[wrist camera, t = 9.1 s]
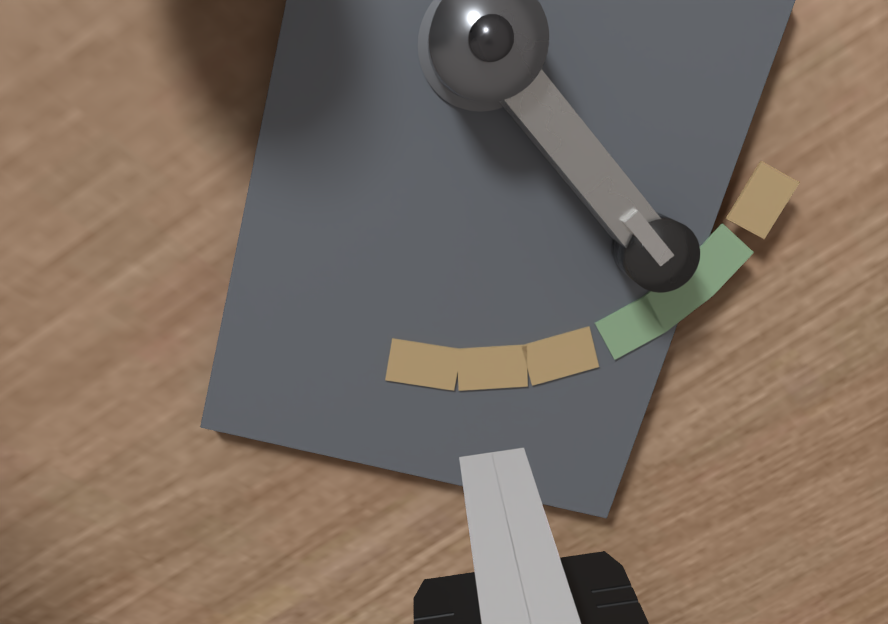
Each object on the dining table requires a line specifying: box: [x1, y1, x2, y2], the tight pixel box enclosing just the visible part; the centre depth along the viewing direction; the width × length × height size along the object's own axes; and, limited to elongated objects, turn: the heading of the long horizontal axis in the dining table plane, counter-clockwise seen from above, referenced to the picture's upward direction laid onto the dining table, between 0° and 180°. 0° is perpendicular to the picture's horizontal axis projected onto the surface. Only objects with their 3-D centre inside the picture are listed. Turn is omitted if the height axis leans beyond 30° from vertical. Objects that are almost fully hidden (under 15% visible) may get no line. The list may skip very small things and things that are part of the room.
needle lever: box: [428, 0, 700, 293], centre depth 30 cm, size 15×4×4 cm, turn 41°
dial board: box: [200, 0, 800, 518], centre depth 34 cm, size 23×25×1 cm
